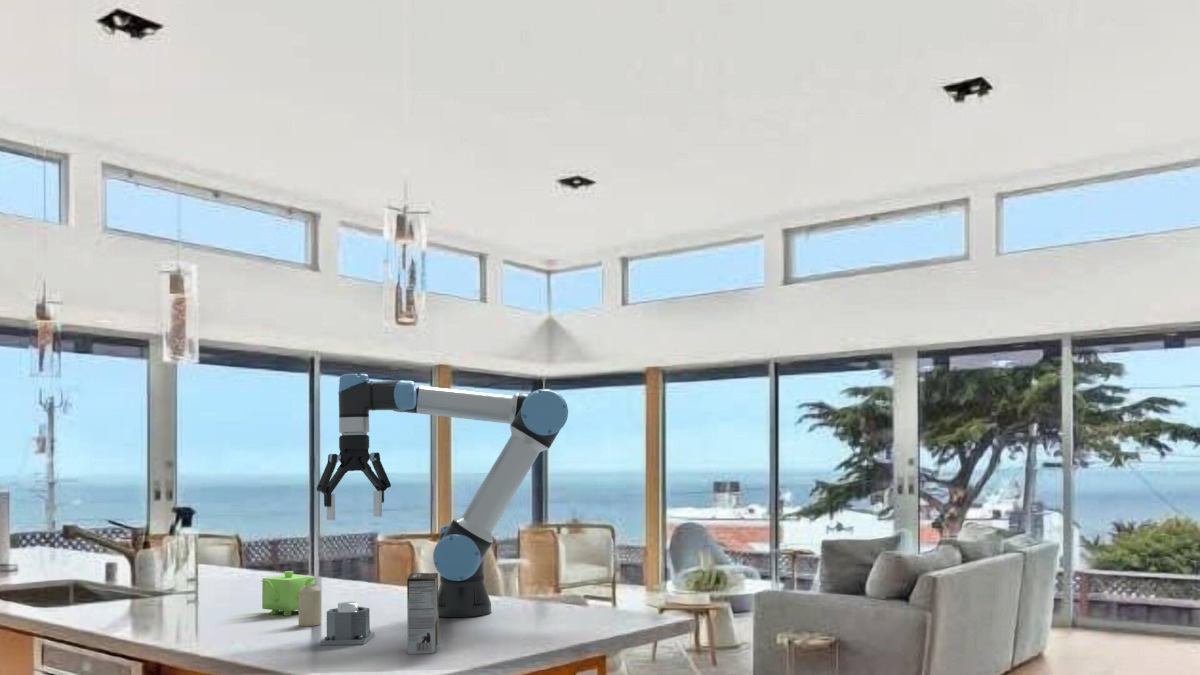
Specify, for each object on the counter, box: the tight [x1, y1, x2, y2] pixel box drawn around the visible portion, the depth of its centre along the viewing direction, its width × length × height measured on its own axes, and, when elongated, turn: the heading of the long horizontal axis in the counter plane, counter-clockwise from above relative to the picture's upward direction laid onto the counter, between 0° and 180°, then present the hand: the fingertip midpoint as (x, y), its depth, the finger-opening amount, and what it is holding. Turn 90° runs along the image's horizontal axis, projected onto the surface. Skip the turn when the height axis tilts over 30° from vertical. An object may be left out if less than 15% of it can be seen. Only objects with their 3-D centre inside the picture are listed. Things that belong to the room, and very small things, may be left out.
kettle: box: [260, 570, 316, 617], centre depth 296 cm, size 15×14×11 cm
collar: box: [326, 606, 371, 640], centre depth 251 cm, size 10×9×6 cm
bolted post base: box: [319, 601, 375, 646], centre depth 251 cm, size 10×10×8 cm
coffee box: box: [406, 572, 440, 655], centre depth 238 cm, size 9×6×16 cm
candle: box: [298, 584, 322, 627], centre depth 275 cm, size 6×6×10 cm
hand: (354, 518), depth 274 cm, fingers open, 13 cm apart
